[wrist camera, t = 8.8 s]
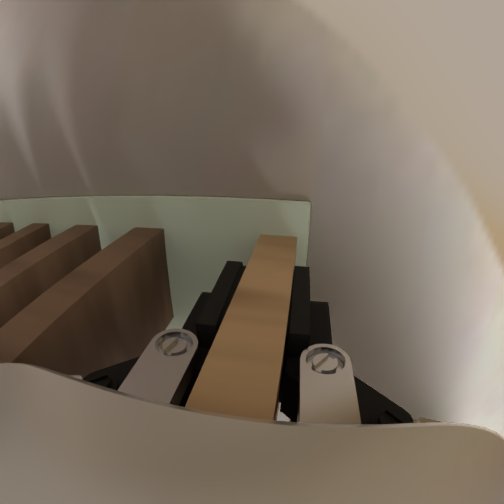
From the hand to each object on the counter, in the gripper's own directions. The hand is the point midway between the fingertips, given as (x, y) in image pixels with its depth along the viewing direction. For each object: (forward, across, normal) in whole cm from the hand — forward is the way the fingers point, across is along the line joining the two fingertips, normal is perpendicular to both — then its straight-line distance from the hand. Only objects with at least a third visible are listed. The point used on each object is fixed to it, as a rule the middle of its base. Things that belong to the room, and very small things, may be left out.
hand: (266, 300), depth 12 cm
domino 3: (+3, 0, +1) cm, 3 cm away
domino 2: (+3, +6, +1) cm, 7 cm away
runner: (+3, +9, +1) cm, 10 cm away
